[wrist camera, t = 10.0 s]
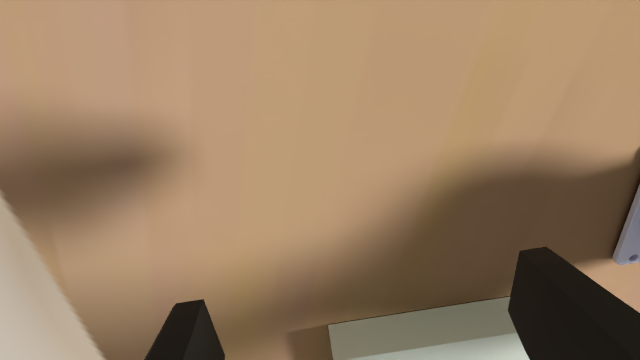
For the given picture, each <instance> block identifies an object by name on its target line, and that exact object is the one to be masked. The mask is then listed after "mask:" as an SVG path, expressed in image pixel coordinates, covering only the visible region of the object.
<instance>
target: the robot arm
mask: <svg viewBox="0 0 640 360" xmlns="http://www.w3.org/2000/svg"><path fill="white" fill-rule="evenodd" d="M613 260H614V261H615V262H616V263H617V264H619V265H624V264H631V263H637V262H640V185H639V187H638V190H637V193H636V195H635V198H634V201H633V203H632V206H631V209H630V211H629V214H628V217H627V220H626V222H625V225H624V228H623V230H622V233H621V236H620V238H619V241H618V244H617V246H616V249H615V252H614V254H613ZM508 313H509V315H510V317H511V320H512V322H513V325H514V327H515V329H516V332H517V334H518V336H519V338H520V341H521V343H522V345H523V347H524V350H525V352H526V354H527V355H528V357H529V359H530V360H640V313H639V312H637V311H636V310H634V309H633V308H632V307H630V306H629V305H627V304H626V303H624V302H623V301H621V300H620V299H619V298H617V297H616V296H614V295H613V294H611V293H610V292H609V291H607V290H606V289H604V288H603V287H602V286H600V285H599V284H597V283H596V282H595V281H593V280H592V279H590V278H589V277H588V276H586V275H585V274H584V273H582V272H581V271H579V270H578V269H577V268H575V267H574V266H572V265H571V264H570V263H568V262H567V261H566V260H564V259H563V258H561V257H560V256H558V255H557V254H556V253H554V252H553V251H551V250H550V249H548V248H547V247H542V248H535V249H529V250H522V251H520V252H519V257H518V262H517V267H516V272H515V276H514V281H513V286H512V291H511V296H510V301H509V306H508ZM144 360H225V354H224V352H223V349H222V347H221V344H220V341H219V339H218V336H217V334H216V331H215V328H214V326H213V323H212V320H211V318H210V315H209V313H208V310H207V307H206V305H205V302H204V300H203V299H202V300H196V301H189V302H183V303H176V304H175V306H174V307H173V308H172V310H171V312H170V314H169V316H168V317H167V319H166V321H165V323H164V325H163V327H162V329H161V330H160V332H159V334H158V336H157V338H156V340H155V341H154V343H153V345H152V347H151V349H150V350H149V352H148V354H147V356H146V357H145V359H144Z"/></svg>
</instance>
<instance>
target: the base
mask: <svg viewBox="0 0 640 360" xmlns="http://www.w3.org/2000/svg"><path fill="white" fill-rule="evenodd" d="M509 301H510V297H504V298H498V299H491V300H485V301H478V302H472V303H465V304H459V305H453V306H446V307H440V308H433V309H427V310H421V311H414V312H408V313H401V314H395V315H388V316H382V317H376V318H369V319H363V320H356V321H350V322H344V323H337V324H331V325H328V329H329V336H330V343H331V350H332V357H333V360H530V359H529V357H528V355H527V354H526V352H525V350H524V347H523V345H522V343H521V341H520V338H519V336H518V334H517V332H516V329H515V327H514V325H513V322H512V320H511V317H510V315H509V313H508V306H509Z"/></svg>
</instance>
